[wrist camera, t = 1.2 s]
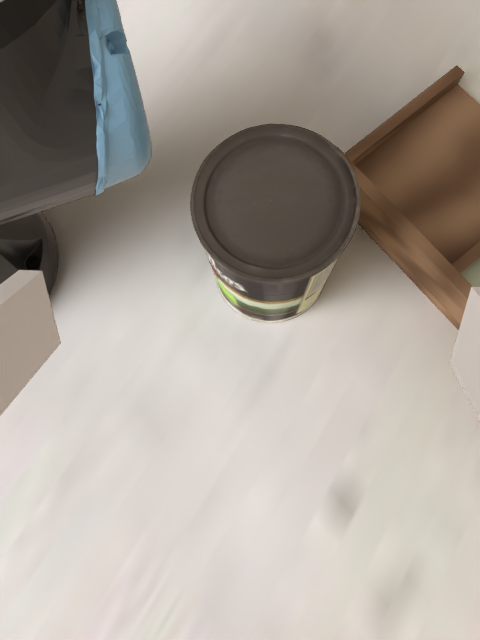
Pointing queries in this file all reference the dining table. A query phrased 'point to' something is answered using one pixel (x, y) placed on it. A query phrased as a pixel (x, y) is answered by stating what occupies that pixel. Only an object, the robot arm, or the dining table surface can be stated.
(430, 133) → the tray
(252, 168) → the coffee can
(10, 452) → the dining table surface
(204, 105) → the dining table surface
